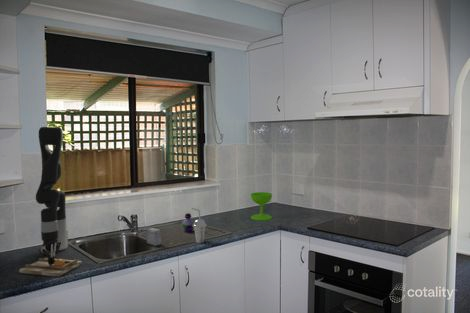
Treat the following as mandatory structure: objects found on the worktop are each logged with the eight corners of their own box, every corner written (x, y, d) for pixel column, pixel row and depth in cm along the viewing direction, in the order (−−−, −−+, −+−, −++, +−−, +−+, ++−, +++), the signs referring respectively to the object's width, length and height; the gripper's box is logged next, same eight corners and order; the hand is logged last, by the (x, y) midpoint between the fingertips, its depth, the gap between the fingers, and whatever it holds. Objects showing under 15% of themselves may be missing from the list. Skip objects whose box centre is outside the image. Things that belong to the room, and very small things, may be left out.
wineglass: (261, 214, 304) (261, 191, 303) (276, 217, 292) (276, 194, 291) (246, 217, 294) (246, 194, 293) (261, 221, 282) (260, 196, 281)
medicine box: (161, 244, 229) (160, 229, 229) (154, 246, 226) (154, 231, 226) (153, 241, 235) (152, 227, 234) (146, 243, 231) (146, 229, 231)
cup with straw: (197, 244, 228) (196, 210, 226) (189, 241, 235) (189, 208, 233) (209, 241, 233) (209, 208, 231) (201, 238, 240) (201, 206, 238)
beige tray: (45, 260, 203) (44, 254, 203) (81, 264, 197) (81, 257, 197) (19, 272, 186) (19, 265, 186) (58, 276, 181) (58, 269, 181)
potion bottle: (180, 233, 253) (179, 214, 252) (183, 229, 262) (183, 212, 261) (193, 233, 252) (192, 215, 251) (196, 229, 261) (195, 212, 260)
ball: (68, 259, 192) (65, 268, 193) (59, 255, 193) (57, 265, 194) (61, 262, 187) (59, 272, 188) (52, 259, 188) (50, 268, 189)
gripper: (52, 225, 198) (54, 259, 199) (33, 232, 185) (34, 268, 186) (65, 226, 196) (66, 260, 197) (46, 233, 183) (48, 269, 184)
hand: (51, 264), depth 192 cm, fingers closed
